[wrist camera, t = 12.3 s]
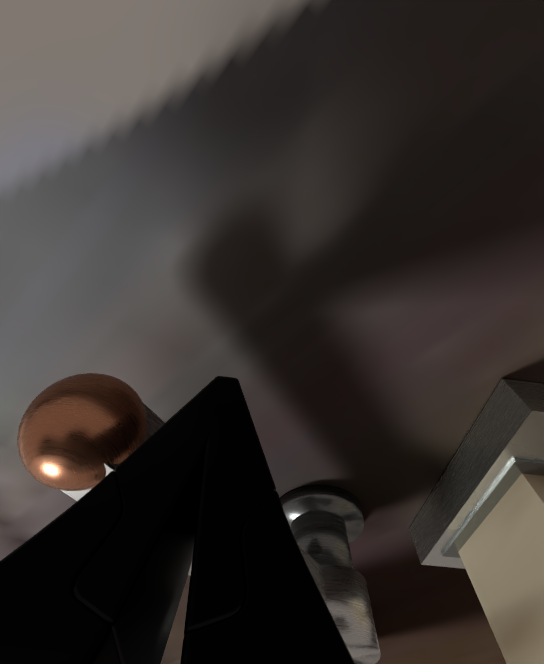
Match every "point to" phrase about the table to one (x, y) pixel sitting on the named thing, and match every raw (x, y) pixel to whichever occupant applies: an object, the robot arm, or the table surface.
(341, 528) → the grey metal flanged disc
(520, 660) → the block
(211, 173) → the table surface
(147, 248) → the table surface
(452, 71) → the table surface
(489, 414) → the plate
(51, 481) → the lever
